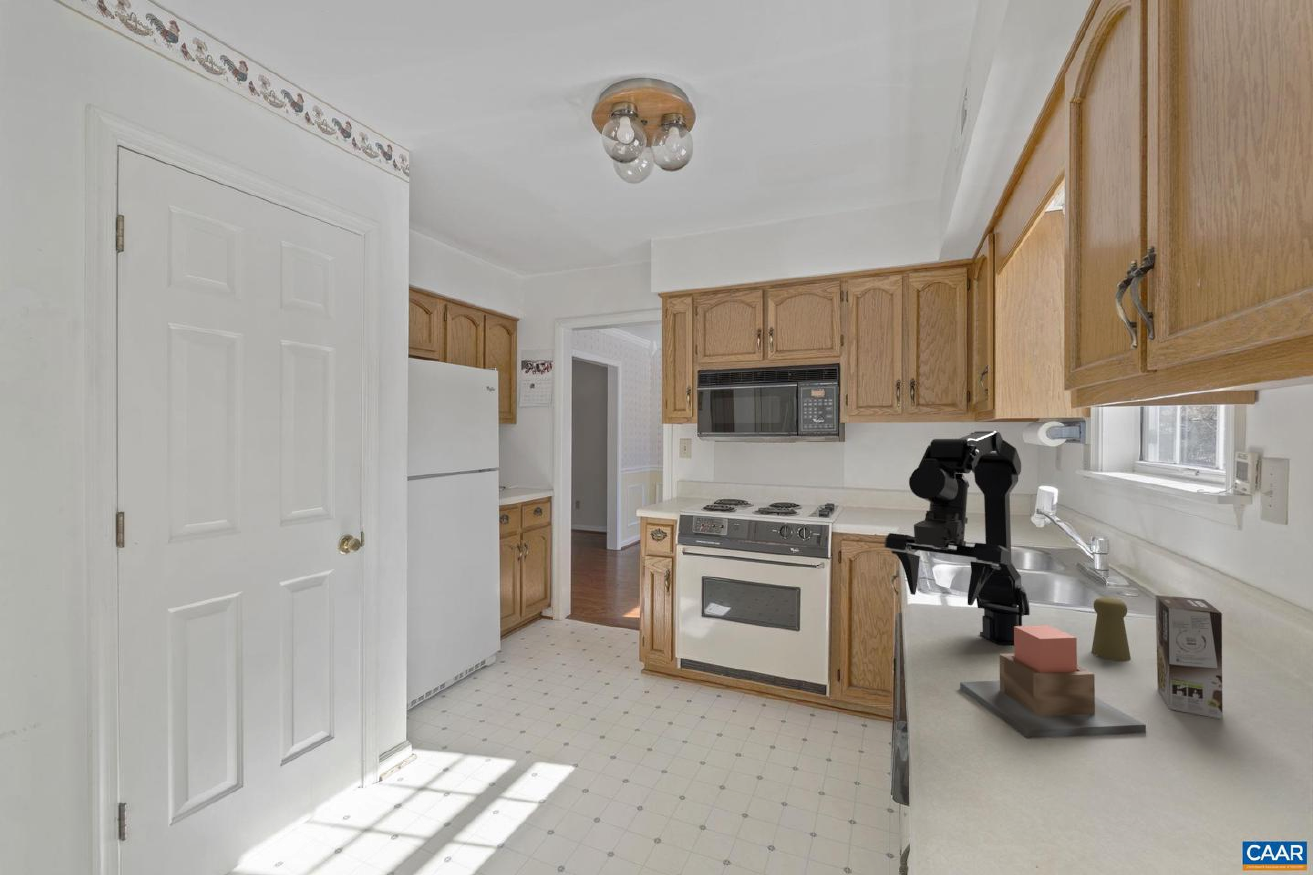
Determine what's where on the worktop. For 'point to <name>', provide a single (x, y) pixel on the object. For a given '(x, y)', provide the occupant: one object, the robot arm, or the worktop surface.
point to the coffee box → (1189, 655)
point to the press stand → (1049, 702)
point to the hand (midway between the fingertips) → (940, 599)
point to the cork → (1110, 630)
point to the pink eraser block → (1045, 649)
